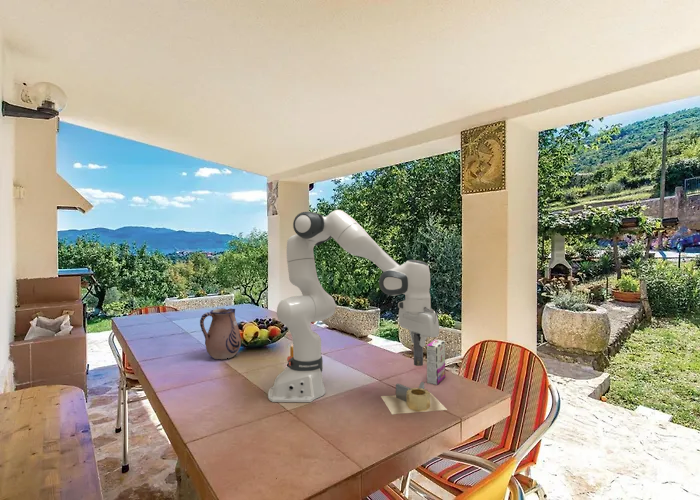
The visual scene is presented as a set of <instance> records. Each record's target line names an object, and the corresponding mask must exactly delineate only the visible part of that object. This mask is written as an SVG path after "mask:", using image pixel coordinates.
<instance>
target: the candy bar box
mask: <svg viewBox="0 0 700 500" xmlns="http://www.w3.org/2000/svg"><path fill="white" fill-rule="evenodd" d="M445 378H446V341H445V340H441V339H434V340H433V341H431V342H430V343H428V344H427V345H426V383H427V384H430V385H434V386H435V385H436V386H438V385H439V384H440V383H441V382H442V381H443V380H444V379H445Z"/></svg>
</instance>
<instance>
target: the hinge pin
mask: <svg viewBox="0 0 700 500" xmlns="http://www.w3.org/2000/svg"><path fill="white" fill-rule="evenodd" d="M420 339H421V337H420V334H419V333H414V343H413V365H414V366H417V367H421V366H422V367H423V365H424V347H421V346H419V341H420Z"/></svg>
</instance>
